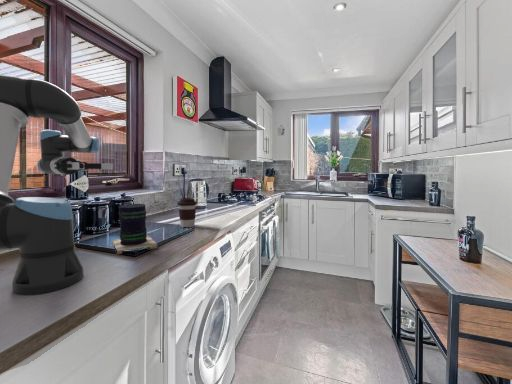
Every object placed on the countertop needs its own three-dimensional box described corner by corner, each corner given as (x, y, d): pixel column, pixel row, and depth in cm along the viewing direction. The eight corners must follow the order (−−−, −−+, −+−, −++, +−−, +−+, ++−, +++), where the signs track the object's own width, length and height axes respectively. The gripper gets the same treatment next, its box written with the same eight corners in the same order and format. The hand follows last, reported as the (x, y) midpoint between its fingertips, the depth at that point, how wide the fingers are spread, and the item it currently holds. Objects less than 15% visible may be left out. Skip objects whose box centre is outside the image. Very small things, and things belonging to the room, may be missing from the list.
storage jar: (136, 246, 98) (135, 208, 96) (114, 244, 100) (112, 207, 98) (152, 239, 107) (150, 204, 106) (131, 238, 109) (130, 203, 108)
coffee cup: (174, 227, 135) (173, 199, 134) (184, 223, 145) (184, 197, 143) (190, 229, 133) (190, 200, 131) (200, 225, 142) (200, 198, 141)
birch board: (157, 247, 101) (157, 244, 101) (117, 254, 93) (117, 250, 93) (148, 238, 114) (148, 235, 114) (112, 243, 106) (112, 240, 106)
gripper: (94, 173, 123) (124, 174, 114) (31, 175, 101) (62, 176, 92) (93, 158, 123) (123, 157, 113) (29, 155, 100) (60, 155, 91)
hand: (96, 166), depth 103 cm, fingers open, 13 cm apart
